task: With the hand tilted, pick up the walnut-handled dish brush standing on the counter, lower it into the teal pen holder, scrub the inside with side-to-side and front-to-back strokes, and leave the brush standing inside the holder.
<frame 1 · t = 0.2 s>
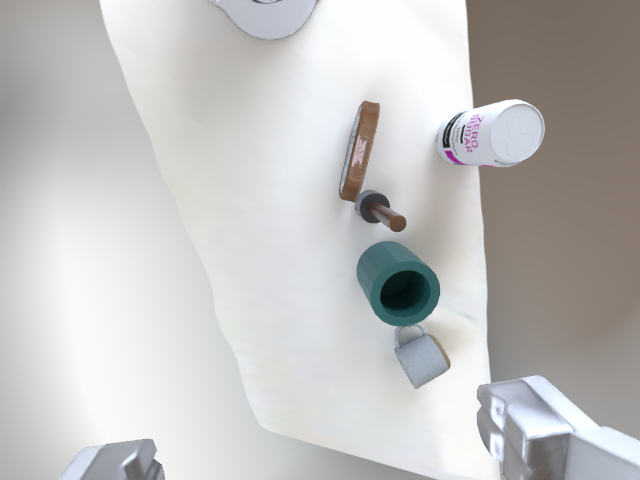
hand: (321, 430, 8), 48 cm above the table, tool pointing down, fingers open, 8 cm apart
dish brush: (369, 204, 55), on the table
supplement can: (457, 139, 54), on the table
ceramic mug: (410, 342, 64), on the table
tin: (352, 153, 53), on the table
teal pen holder: (385, 269, 59), on the table
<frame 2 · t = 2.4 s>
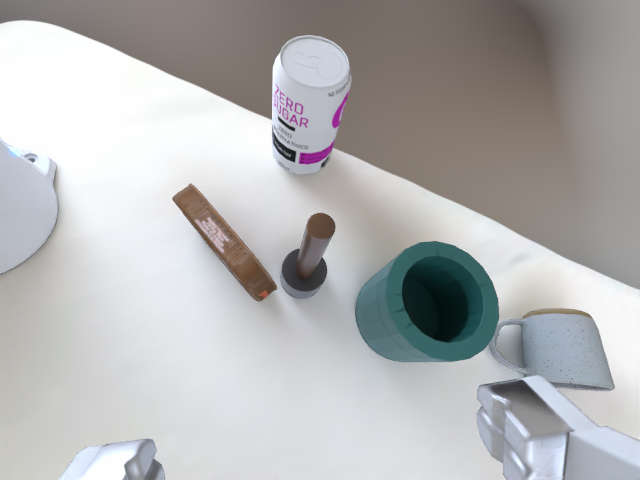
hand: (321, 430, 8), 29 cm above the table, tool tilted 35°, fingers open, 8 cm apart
dish brush: (301, 278, 39), on the table
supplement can: (300, 153, 45), on the table
ceramic mug: (525, 351, 40), on the table
tin: (228, 256, 39), on the table
teal pen holder: (397, 314, 39), on the table
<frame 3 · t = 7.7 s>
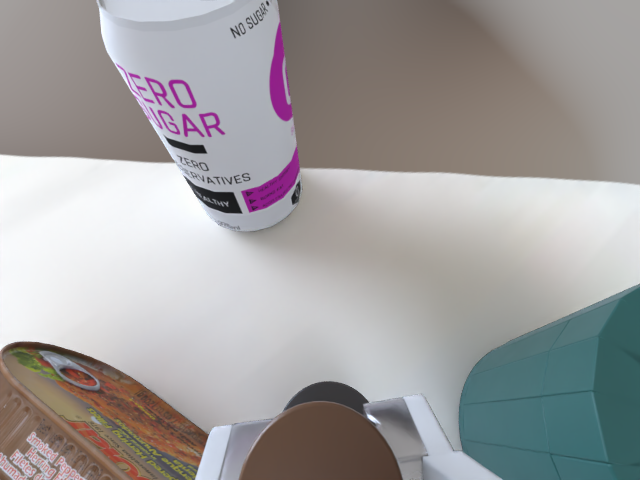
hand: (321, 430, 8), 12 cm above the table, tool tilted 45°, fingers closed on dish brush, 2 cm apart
dish brush: (329, 436, 18), on the table, touching gripper
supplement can: (254, 195, 27), on the table
tin: (169, 444, 18), on the table
teal pen holder: (559, 441, 17), on the table
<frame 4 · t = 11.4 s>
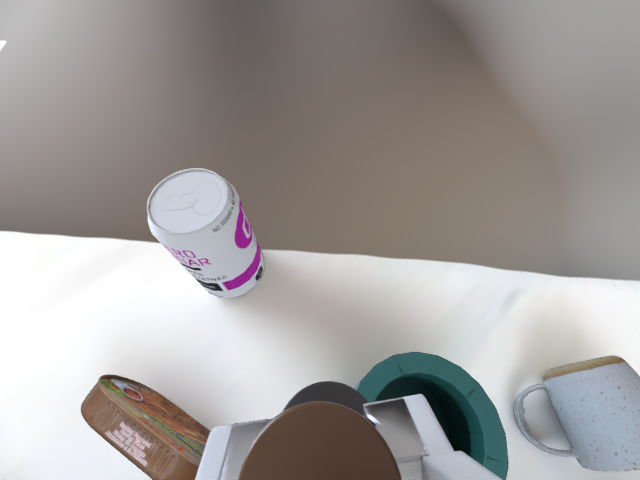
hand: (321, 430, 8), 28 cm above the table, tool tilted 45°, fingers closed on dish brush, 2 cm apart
dish brush: (329, 436, 18), point 16 cm above the table, touching gripper
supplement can: (233, 269, 41), on the table
ceramic mug: (564, 416, 32), on the table
tin: (179, 430, 32), on the table
teal pen holder: (396, 429, 32), on the table
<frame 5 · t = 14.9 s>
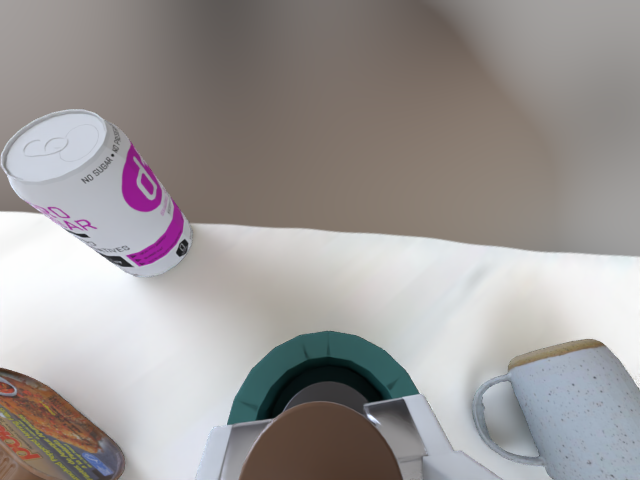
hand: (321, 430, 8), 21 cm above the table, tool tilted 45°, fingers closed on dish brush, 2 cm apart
dish brush: (329, 436, 18), point 9 cm above the table, touching gripper
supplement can: (158, 246, 35), on the table
ceramic mug: (534, 415, 26), on the table
tin: (69, 432, 27), on the table
teal pen holder: (329, 430, 26), on the table
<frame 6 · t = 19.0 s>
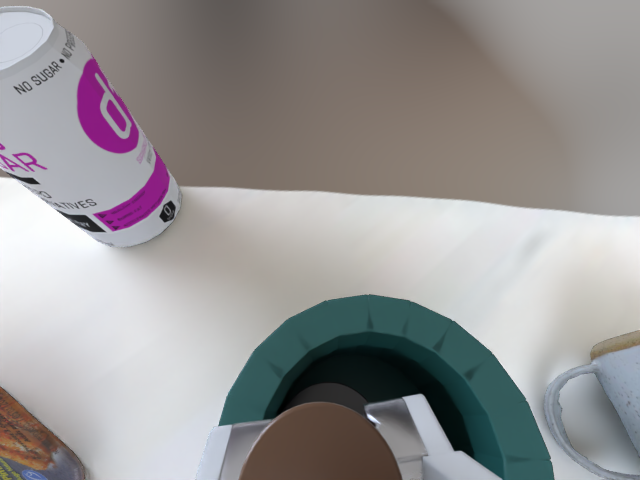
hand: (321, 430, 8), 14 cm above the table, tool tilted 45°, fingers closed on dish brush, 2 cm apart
dish brush: (329, 436, 18), point 2 cm above the table, touching gripper
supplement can: (140, 212, 29), on the table
ceramic mug: (625, 418, 20), on the table
tin: (17, 440, 21), on the table
teal pen holder: (356, 437, 20), on the table
when the fingers open (13 cm above the table, at t = 22.1 s): dish brush stays where it is, resting on teal pen holder.
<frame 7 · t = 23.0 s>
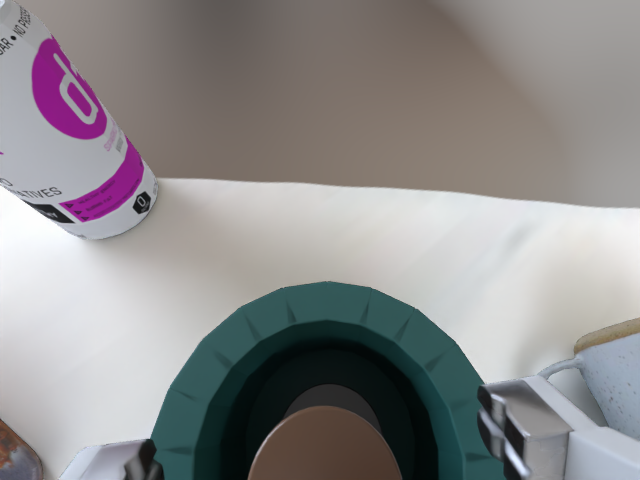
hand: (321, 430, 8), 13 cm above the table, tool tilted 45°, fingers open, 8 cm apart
dish brush: (330, 437, 18), point 1 cm above the table, touching teal pen holder
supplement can: (116, 204, 28), on the table
ceramic mug: (610, 415, 19), on the table
teal pen holder: (329, 435, 19), on the table, touching dish brush
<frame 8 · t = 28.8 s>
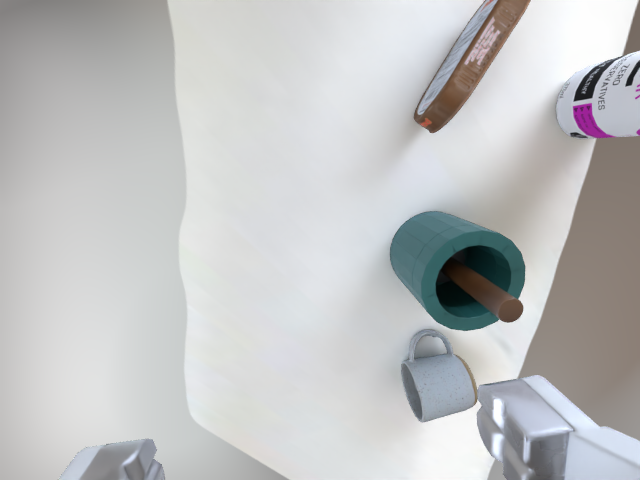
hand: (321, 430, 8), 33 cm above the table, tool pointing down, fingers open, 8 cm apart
dish brush: (431, 253, 42), point 1 cm above the table, touching teal pen holder
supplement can: (581, 104, 39), on the table
ceramic mug: (423, 359, 47), on the table
tin: (446, 71, 37), on the table
teal pen holder: (429, 250, 43), on the table, touching dish brush
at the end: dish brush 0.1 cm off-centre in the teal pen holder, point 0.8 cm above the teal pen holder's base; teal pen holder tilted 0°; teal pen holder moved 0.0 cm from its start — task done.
